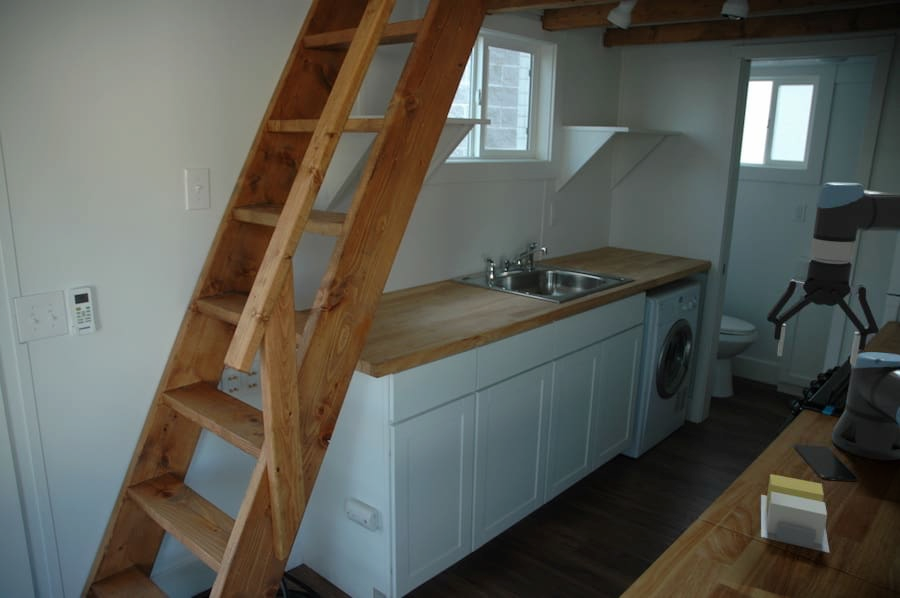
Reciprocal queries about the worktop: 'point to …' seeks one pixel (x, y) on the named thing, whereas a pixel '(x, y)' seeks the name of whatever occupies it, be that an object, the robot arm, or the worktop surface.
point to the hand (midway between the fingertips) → (815, 359)
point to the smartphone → (825, 462)
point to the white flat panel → (796, 513)
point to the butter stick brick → (794, 488)
